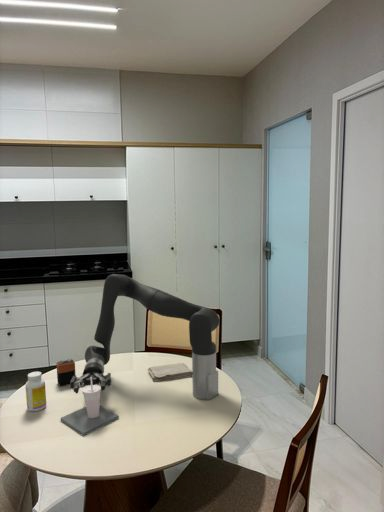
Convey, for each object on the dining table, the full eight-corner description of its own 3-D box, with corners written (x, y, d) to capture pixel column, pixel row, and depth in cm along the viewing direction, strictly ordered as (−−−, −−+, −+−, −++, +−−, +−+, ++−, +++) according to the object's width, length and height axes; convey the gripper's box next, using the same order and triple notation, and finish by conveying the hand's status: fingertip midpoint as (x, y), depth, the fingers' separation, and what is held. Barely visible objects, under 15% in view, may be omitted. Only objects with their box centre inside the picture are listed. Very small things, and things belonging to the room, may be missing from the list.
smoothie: (86, 422, 132) (83, 382, 131) (82, 414, 138) (79, 375, 137) (105, 417, 135) (102, 377, 134) (100, 409, 141) (97, 371, 139)
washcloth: (146, 372, 175) (146, 366, 175) (184, 366, 181) (184, 360, 181) (153, 383, 164) (153, 376, 164) (193, 376, 170) (193, 370, 170)
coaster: (118, 418, 137) (118, 415, 136) (83, 435, 126) (83, 433, 126) (95, 405, 146) (95, 402, 146) (60, 420, 136) (60, 417, 135)
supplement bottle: (50, 404, 147) (48, 371, 145) (38, 413, 141) (35, 379, 139) (35, 401, 149) (33, 369, 147) (23, 410, 143) (20, 376, 141)
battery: (76, 383, 164) (74, 360, 163) (59, 387, 161) (57, 363, 160) (74, 379, 168) (72, 356, 167) (57, 382, 165) (56, 359, 164)
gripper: (74, 362, 151) (67, 381, 135) (112, 360, 153) (109, 378, 137) (75, 381, 152) (68, 401, 136) (112, 378, 154) (110, 398, 138)
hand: (89, 389), depth 137 cm, fingers open, 8 cm apart
